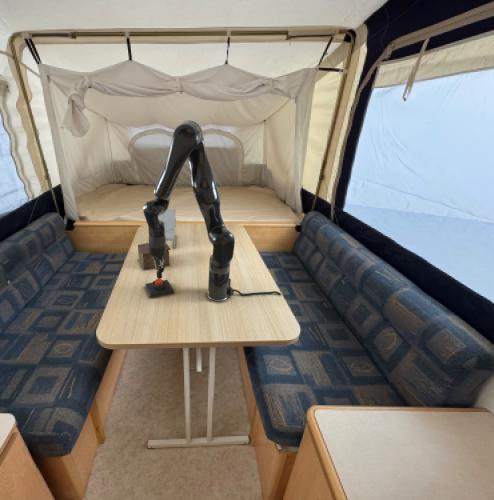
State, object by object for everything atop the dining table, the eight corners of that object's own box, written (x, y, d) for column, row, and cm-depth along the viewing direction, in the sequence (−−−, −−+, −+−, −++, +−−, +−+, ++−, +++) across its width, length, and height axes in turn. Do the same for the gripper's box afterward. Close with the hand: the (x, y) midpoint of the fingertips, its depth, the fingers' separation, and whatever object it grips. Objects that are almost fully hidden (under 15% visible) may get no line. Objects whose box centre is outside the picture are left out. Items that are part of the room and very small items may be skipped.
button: (161, 281, 127) (161, 278, 126) (163, 285, 124) (163, 281, 123) (154, 282, 126) (154, 279, 125) (156, 286, 123) (156, 283, 122)
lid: (163, 241, 156) (163, 233, 153) (170, 249, 145) (169, 241, 143) (137, 246, 151) (136, 238, 148) (142, 255, 140) (141, 246, 138)
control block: (167, 283, 132) (167, 276, 131) (173, 293, 125) (173, 285, 123) (145, 287, 128) (145, 280, 127) (150, 297, 121) (149, 290, 119)
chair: (176, 235, 190) (175, 208, 182) (174, 249, 167) (174, 220, 159) (157, 234, 190) (156, 208, 181) (153, 249, 167) (151, 220, 159)
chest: (162, 256, 160) (162, 242, 156) (169, 265, 149) (169, 251, 145) (138, 259, 154) (137, 246, 151) (143, 270, 144) (142, 255, 140)
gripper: (170, 248, 112) (171, 283, 120) (161, 237, 124) (163, 269, 131) (152, 251, 110) (155, 286, 117) (145, 239, 121) (148, 272, 129)
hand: (159, 277), depth 124 cm, fingers closed
